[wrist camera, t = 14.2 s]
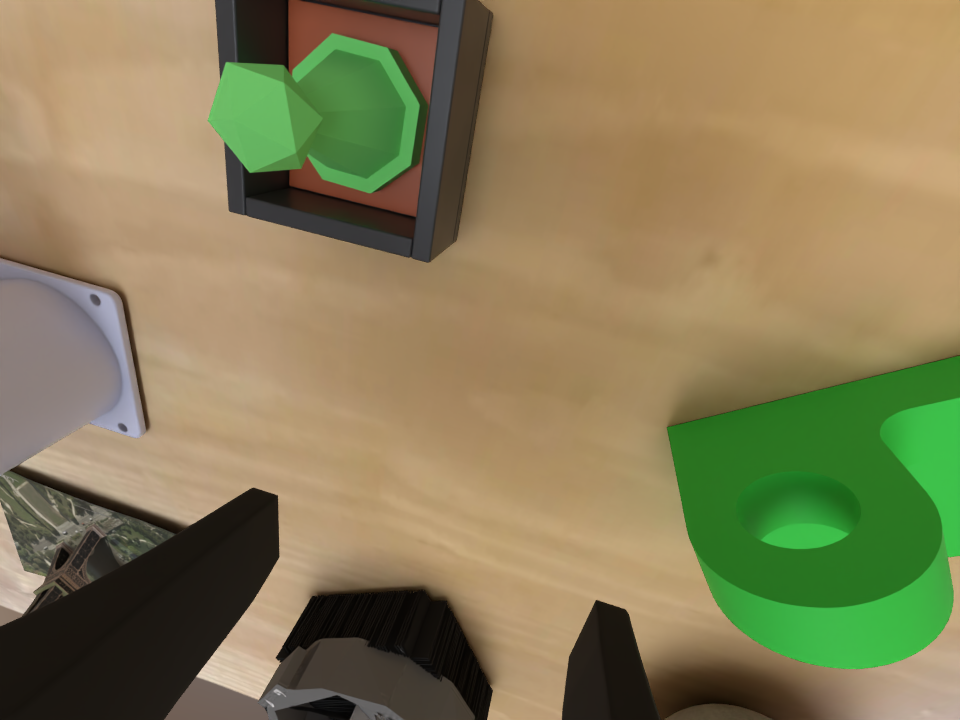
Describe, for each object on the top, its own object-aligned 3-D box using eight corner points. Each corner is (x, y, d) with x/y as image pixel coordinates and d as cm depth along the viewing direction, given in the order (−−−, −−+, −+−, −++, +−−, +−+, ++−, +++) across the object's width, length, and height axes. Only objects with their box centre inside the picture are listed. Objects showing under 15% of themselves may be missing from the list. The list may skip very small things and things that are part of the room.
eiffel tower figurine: (215, 534, 28) (-70, 838, 16) (226, 638, 32) (14, 929, 21) (-8, 456, 29) (-413, 681, 18) (34, 566, 34) (-262, 799, 22)
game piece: (441, 181, 15) (357, 214, 10) (322, 199, 17) (192, 236, 11) (413, 20, 14) (293, -41, 8) (282, 52, 15) (105, 17, 10)
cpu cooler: (489, 828, 23) (320, 806, 27) (510, 703, 28) (365, 698, 32) (406, 692, 20) (223, 687, 23) (446, 576, 25) (291, 586, 28)
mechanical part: (711, 543, 20) (767, 770, 13) (667, 427, 18) (705, 620, 11) (1107, 484, 15) (1516, 783, 9) (1102, 320, 14) (1622, 533, 7)
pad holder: (284, 197, 18) (227, 211, 15) (281, -28, 14) (209, -61, 12) (456, 241, 17) (429, 263, 14) (493, 13, 14) (467, -12, 11)
